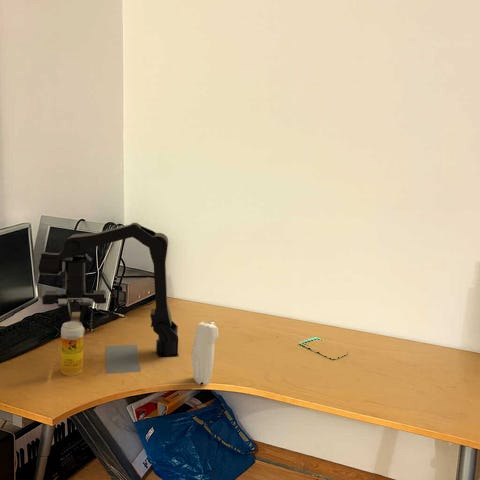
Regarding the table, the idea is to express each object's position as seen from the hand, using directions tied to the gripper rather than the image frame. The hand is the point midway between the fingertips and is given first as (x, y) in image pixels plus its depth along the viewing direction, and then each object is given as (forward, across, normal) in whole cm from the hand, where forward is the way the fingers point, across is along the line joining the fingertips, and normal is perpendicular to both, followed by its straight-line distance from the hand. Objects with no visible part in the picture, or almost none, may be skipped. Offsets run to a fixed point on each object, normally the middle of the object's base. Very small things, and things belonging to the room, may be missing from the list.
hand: (75, 323), depth 157 cm
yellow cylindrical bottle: (+10, 0, +15) cm, 18 cm away
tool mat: (+10, -14, +7) cm, 19 cm away
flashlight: (+10, -37, +24) cm, 46 cm away
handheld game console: (+11, -84, +5) cm, 85 cm away
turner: (+1, 0, +1) cm, 2 cm away
